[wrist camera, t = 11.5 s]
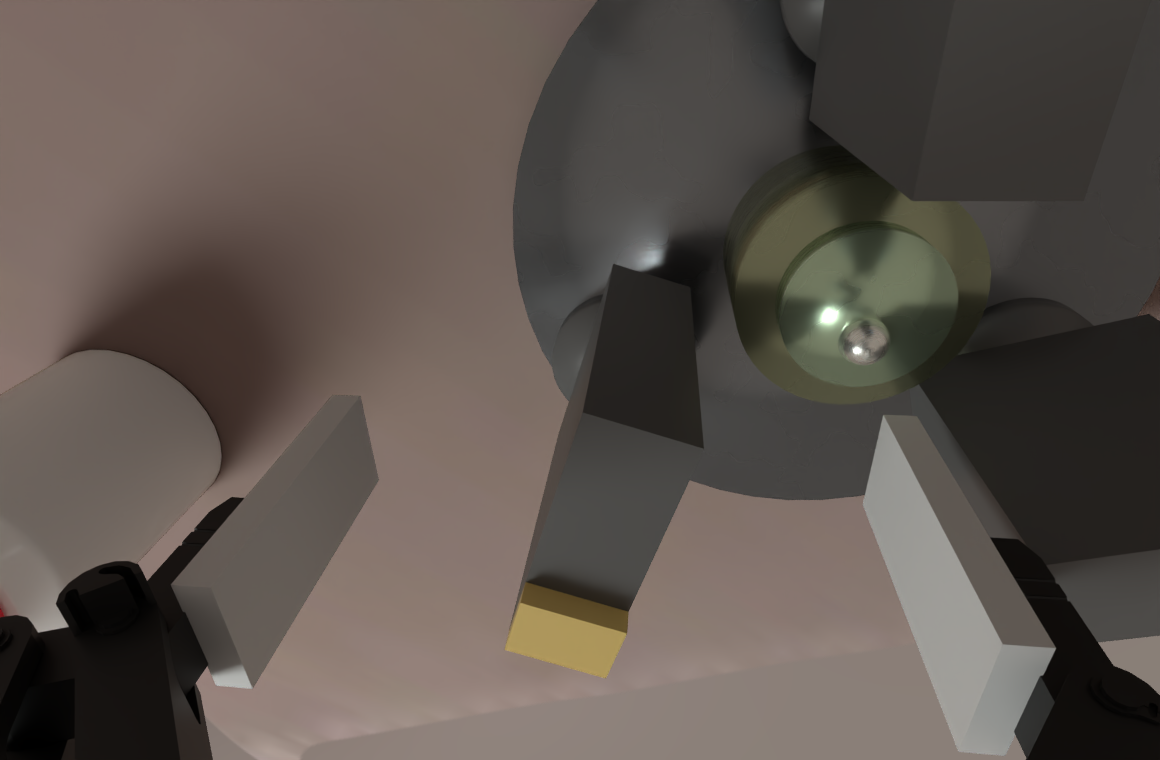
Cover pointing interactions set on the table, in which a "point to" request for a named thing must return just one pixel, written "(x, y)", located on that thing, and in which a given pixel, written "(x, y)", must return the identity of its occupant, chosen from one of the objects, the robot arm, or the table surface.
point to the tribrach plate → (697, 153)
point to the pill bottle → (93, 472)
